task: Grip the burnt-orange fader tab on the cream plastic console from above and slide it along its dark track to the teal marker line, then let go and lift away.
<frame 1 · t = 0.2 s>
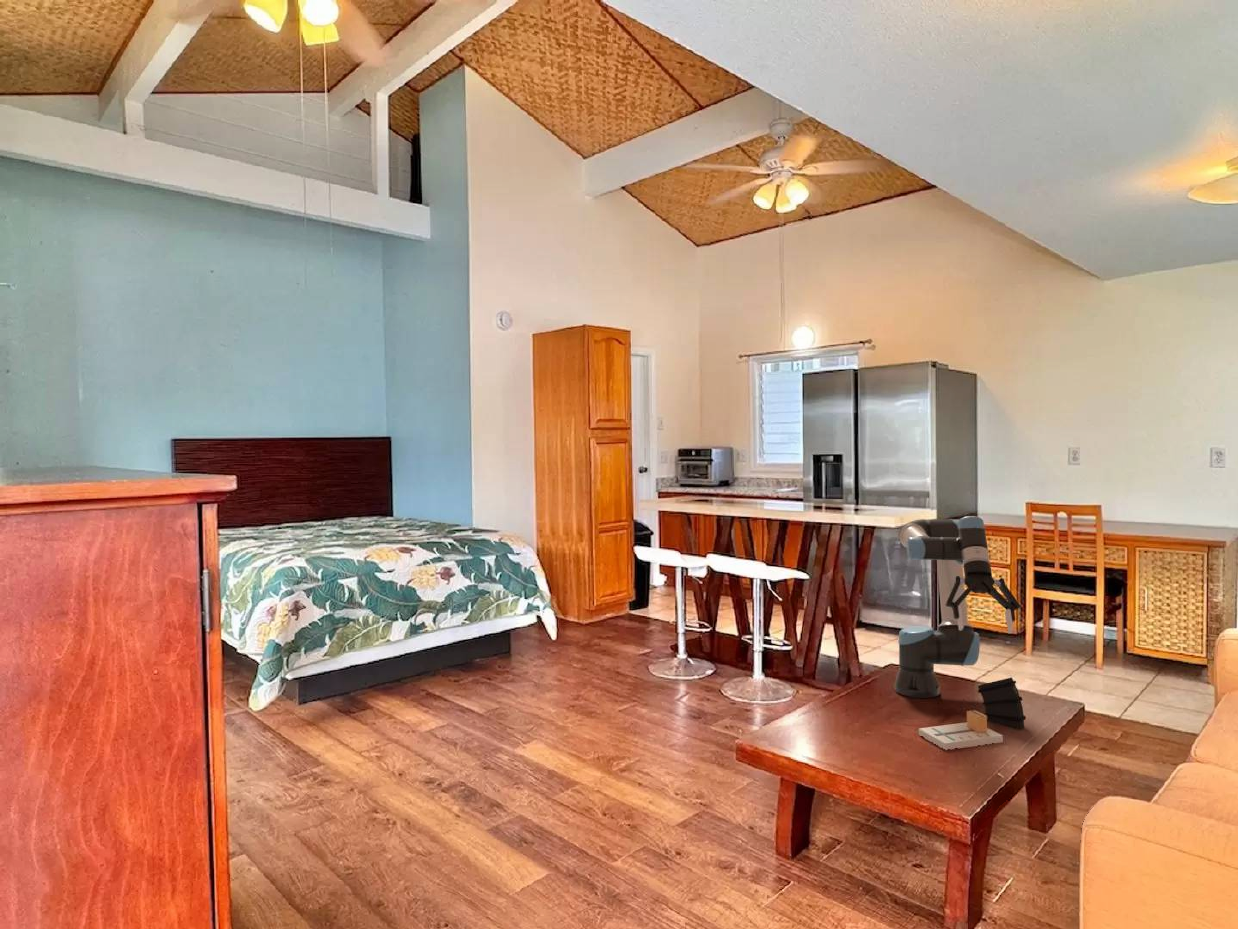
hand: (986, 630, 214), 34 cm above the table, tool tilted 30°, fingers open, 13 cm apart
magazine: (1001, 723, 232), on the table
fader console: (960, 738, 220), on the table
fader tab: (976, 721, 221), point 5 cm above the table, slide at 6.0 cm
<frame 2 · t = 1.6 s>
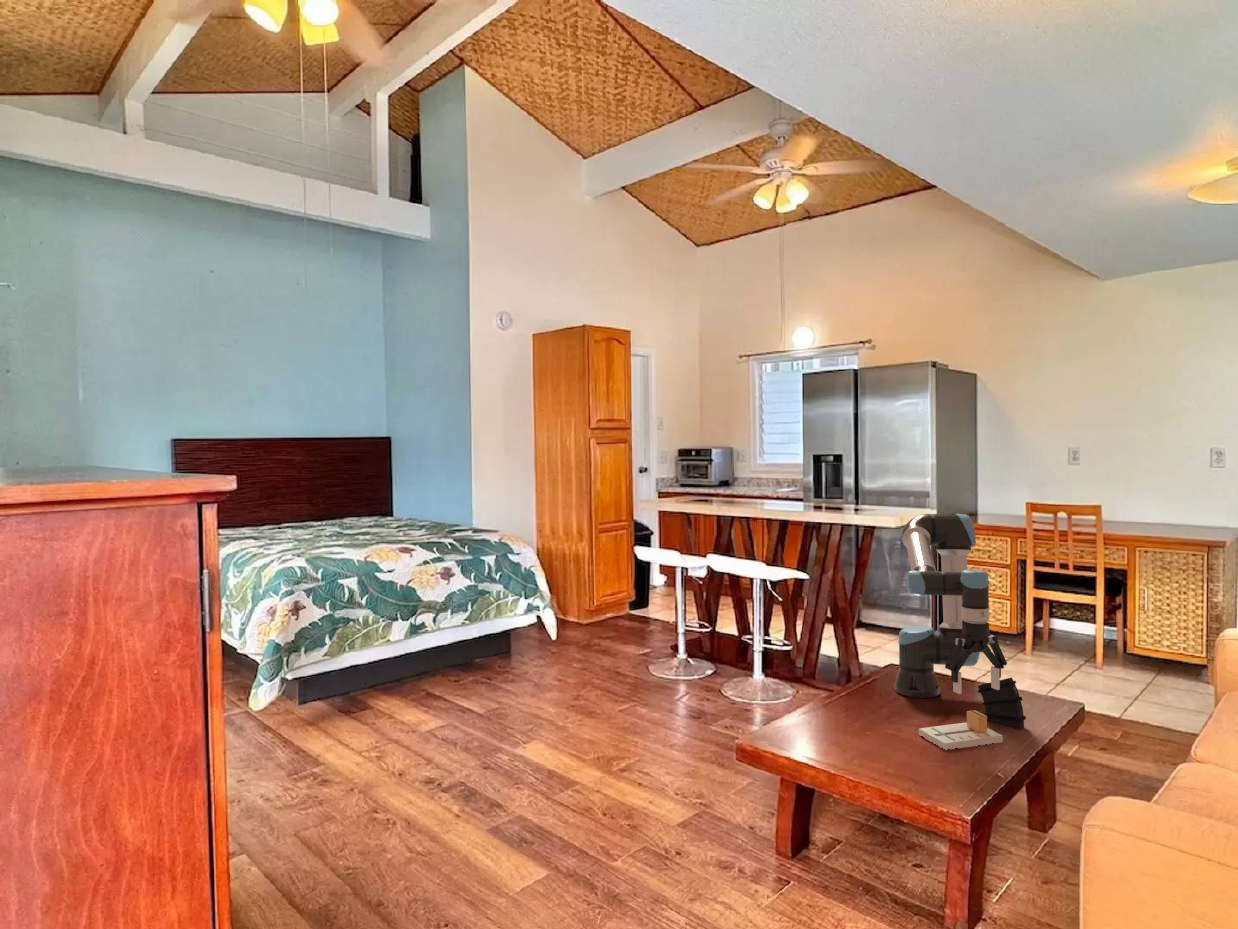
hand: (976, 691, 221), 14 cm above the table, tool pointing down, fingers open, 13 cm apart
nothing on the table moved.
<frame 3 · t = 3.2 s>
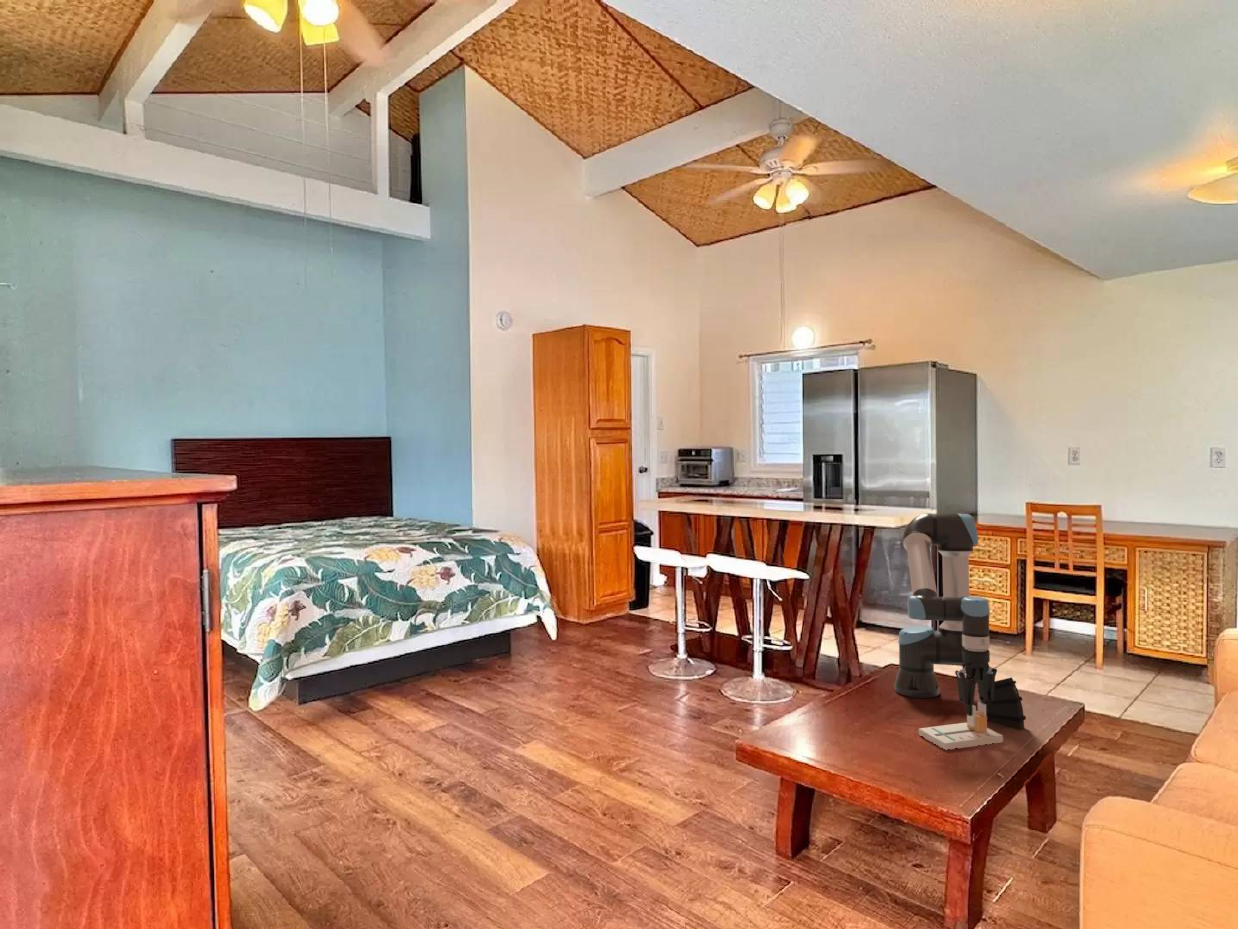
hand: (976, 724, 221), 4 cm above the table, tool pointing down, fingers closed on fader tab, 3 cm apart
fader tab: (976, 721, 221), point 5 cm above the table, slide at 6.0 cm, touching gripper
everything else where it was.
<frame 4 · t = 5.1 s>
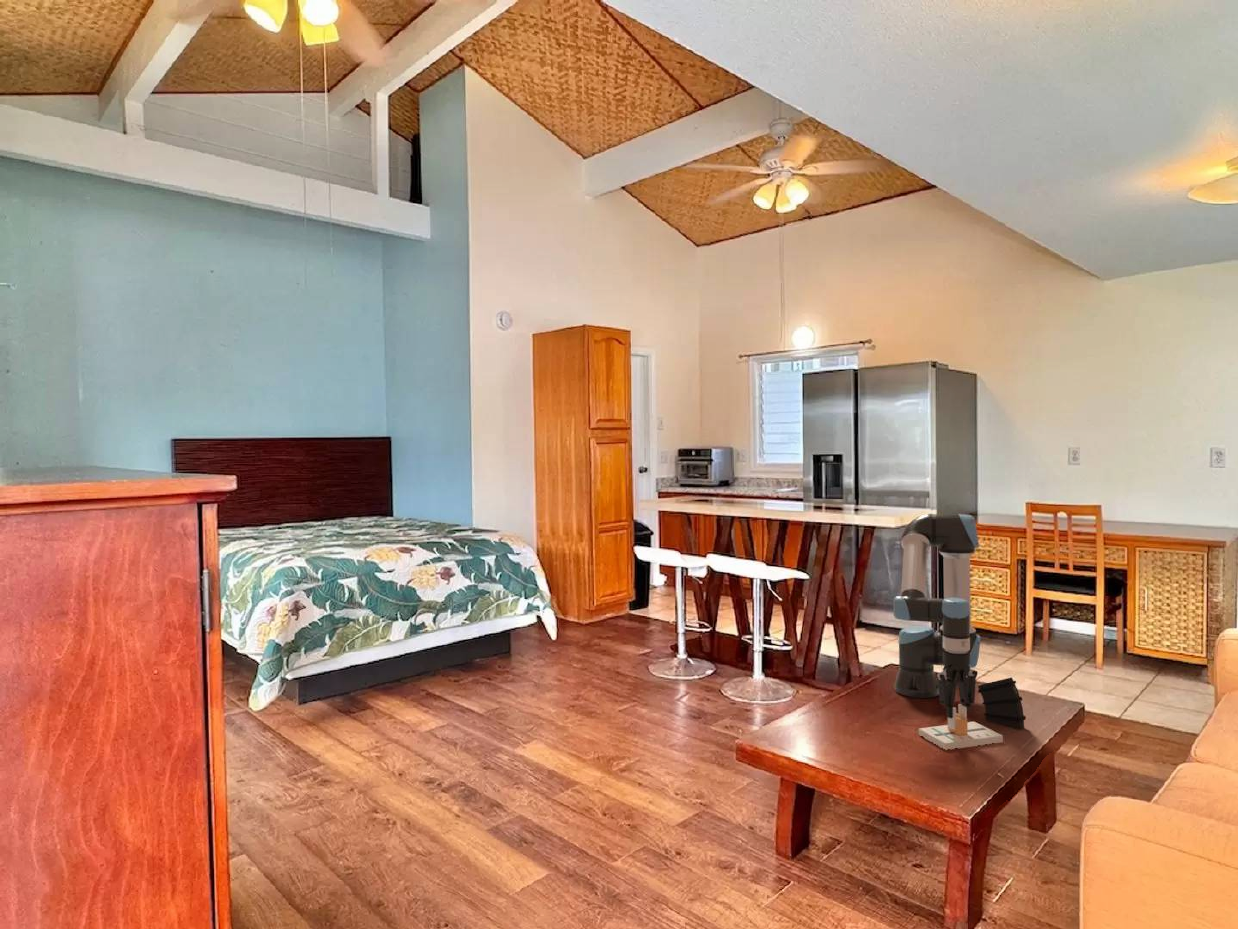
hand: (957, 727, 220), 4 cm above the table, tool pointing down, fingers closed on fader tab, 3 cm apart
fader tab: (957, 723, 220), point 5 cm above the table, slide at -0.9 cm, touching gripper
everything else where it was.
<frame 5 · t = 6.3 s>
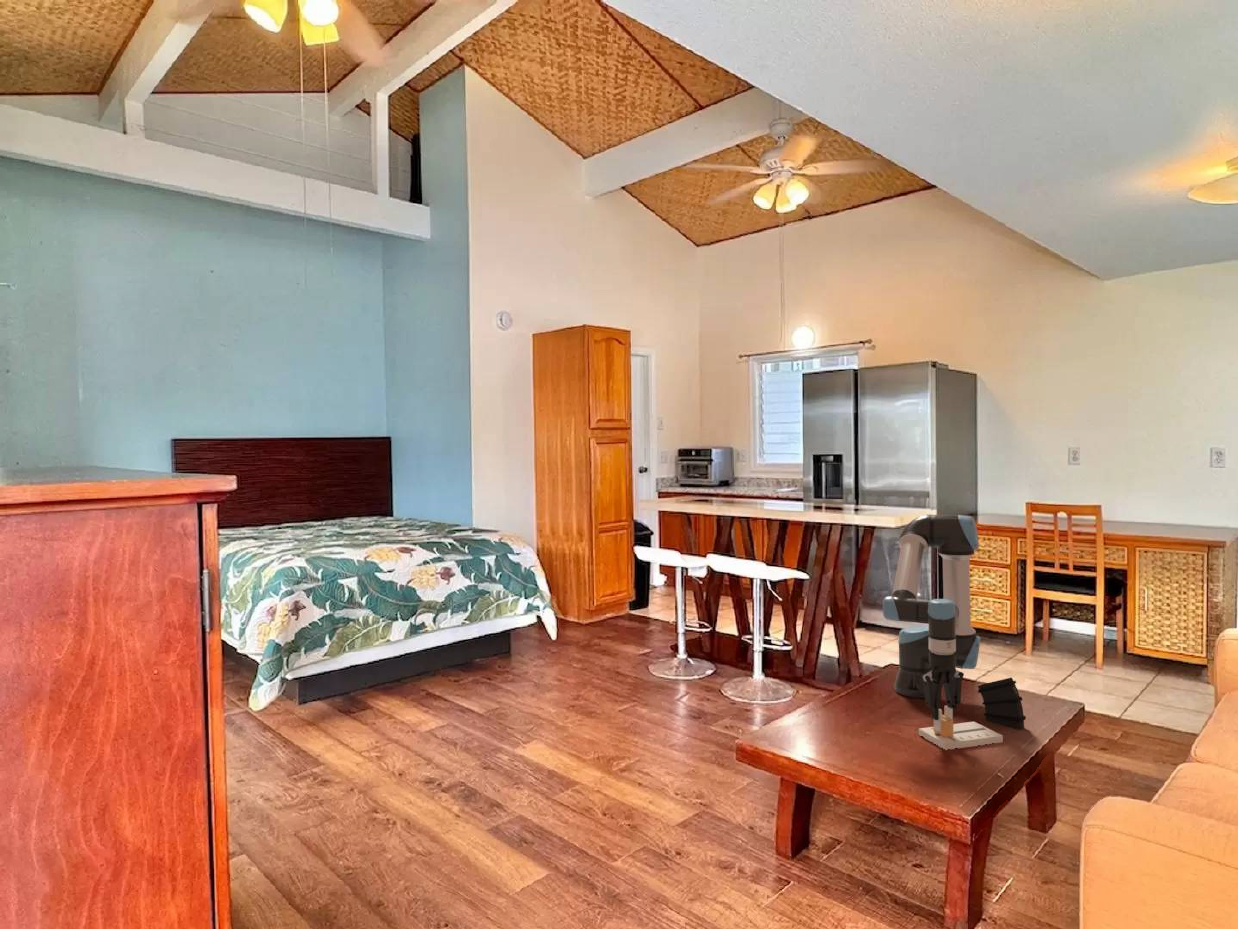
hand: (943, 729, 218), 4 cm above the table, tool pointing down, fingers closed on fader tab, 3 cm apart
fader tab: (943, 725, 218), point 5 cm above the table, slide at -5.9 cm, touching gripper
everything else where it was.
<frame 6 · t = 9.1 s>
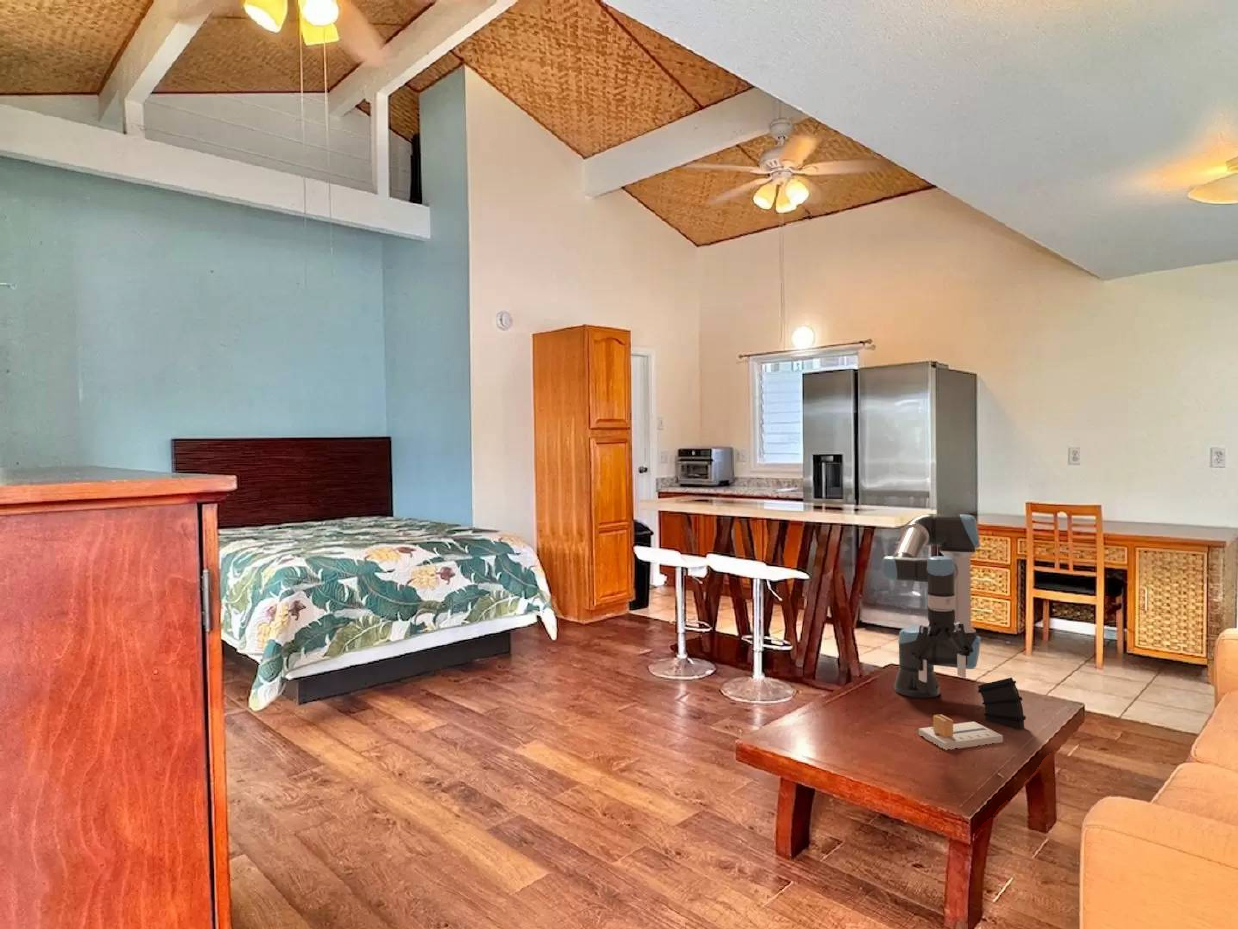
hand: (942, 678, 218), 19 cm above the table, tool pointing down, fingers open, 13 cm apart
fader tab: (943, 725, 218), point 5 cm above the table, slide at -6.0 cm
everything else where it was.
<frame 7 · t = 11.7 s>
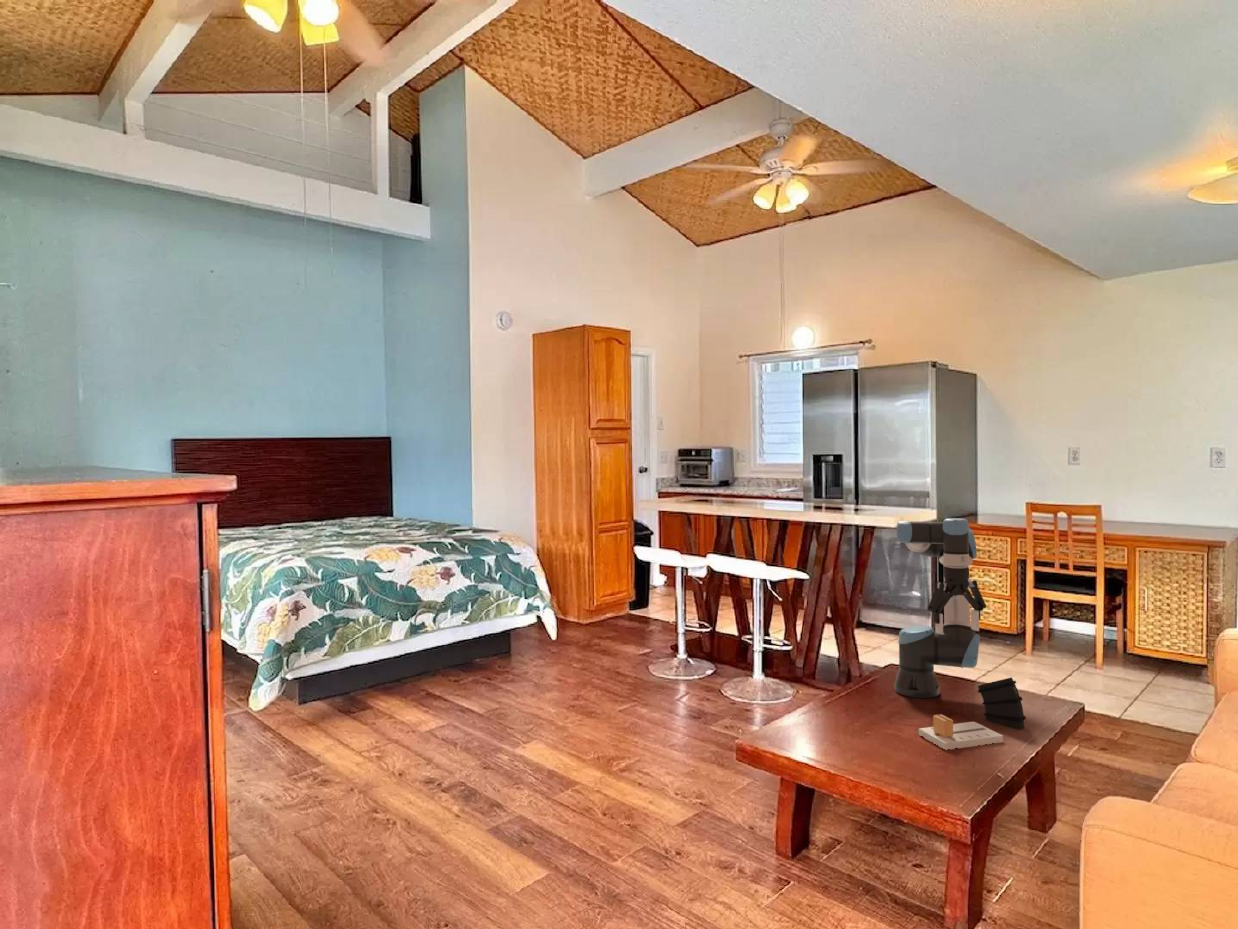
hand: (957, 631, 235), 29 cm above the table, tool pointing down, fingers open, 13 cm apart
nothing on the table moved.
at the end: fader tab slide at -6.0 cm; the gripper is holding nothing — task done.
